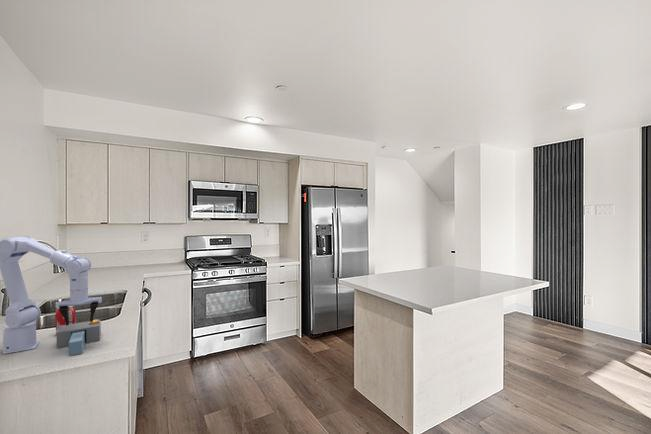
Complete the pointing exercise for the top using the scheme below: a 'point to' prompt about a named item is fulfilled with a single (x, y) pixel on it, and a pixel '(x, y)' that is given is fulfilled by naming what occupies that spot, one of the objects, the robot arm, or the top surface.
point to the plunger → (94, 322)
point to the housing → (90, 330)
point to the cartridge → (77, 343)
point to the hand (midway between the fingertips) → (79, 322)
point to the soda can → (60, 318)
